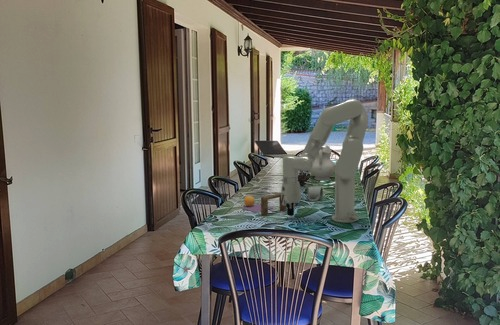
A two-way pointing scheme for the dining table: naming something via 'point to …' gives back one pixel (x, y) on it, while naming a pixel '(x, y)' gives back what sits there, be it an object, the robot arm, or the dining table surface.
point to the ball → (249, 201)
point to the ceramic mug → (315, 193)
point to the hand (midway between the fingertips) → (290, 215)
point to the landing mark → (255, 208)
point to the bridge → (265, 204)
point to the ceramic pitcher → (323, 165)
